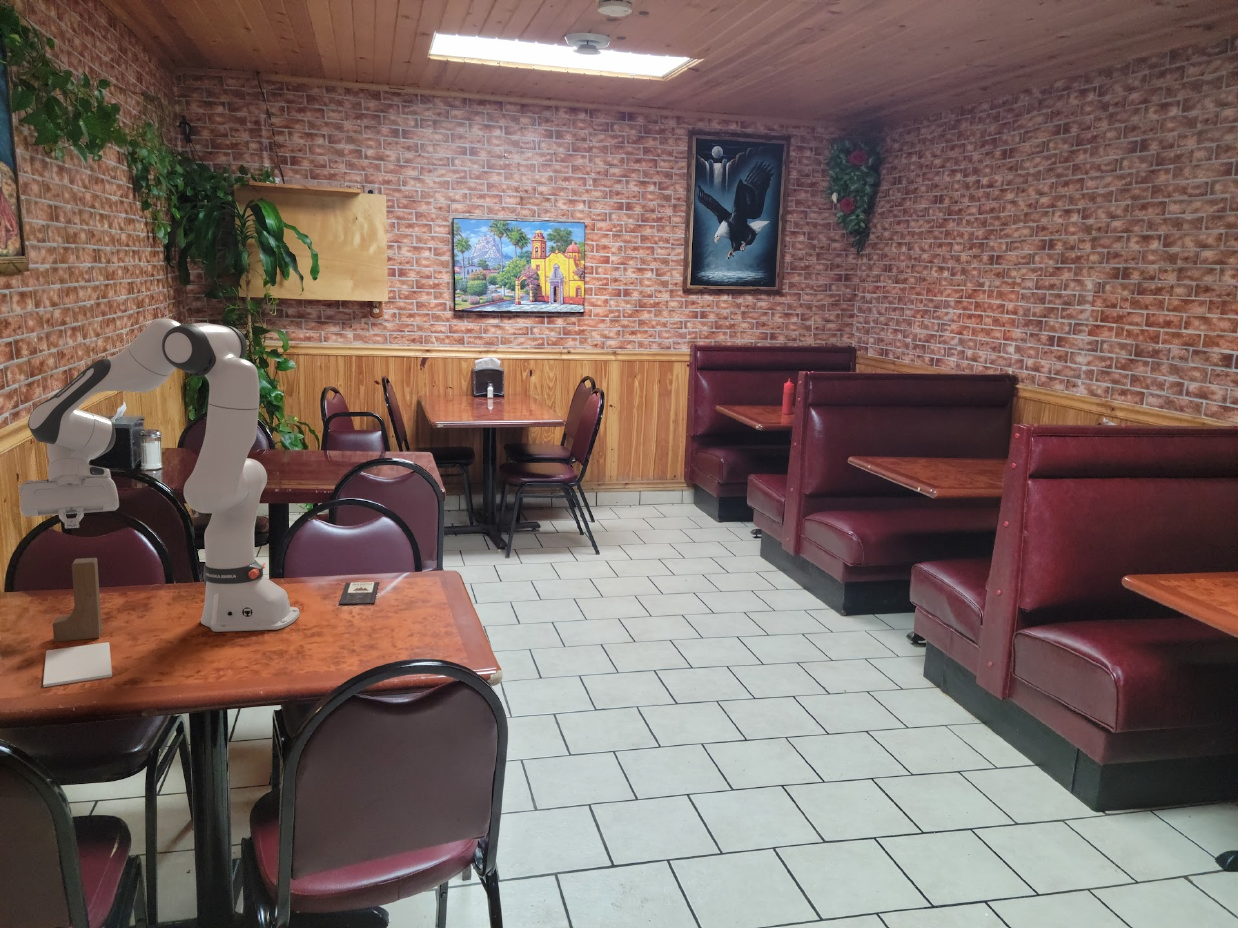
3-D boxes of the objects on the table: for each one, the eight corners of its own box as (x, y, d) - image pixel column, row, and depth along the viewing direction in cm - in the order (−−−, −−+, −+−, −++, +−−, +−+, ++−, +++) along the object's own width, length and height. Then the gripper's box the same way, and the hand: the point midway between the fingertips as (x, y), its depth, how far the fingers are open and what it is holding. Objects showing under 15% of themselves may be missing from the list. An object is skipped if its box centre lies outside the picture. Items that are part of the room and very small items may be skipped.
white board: (46, 653, 199) (46, 650, 199) (109, 644, 205) (109, 641, 205) (43, 687, 182) (43, 684, 182) (112, 676, 188) (111, 673, 188)
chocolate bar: (338, 603, 236) (345, 582, 253) (338, 607, 236) (345, 585, 254) (374, 602, 238) (379, 582, 255) (374, 606, 238) (379, 585, 255)
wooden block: (53, 642, 205) (47, 565, 202) (57, 635, 209) (51, 559, 206) (99, 638, 208) (94, 562, 205) (102, 631, 213) (97, 557, 209)
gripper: (17, 473, 215) (18, 523, 208) (116, 468, 225) (120, 515, 218) (19, 488, 219) (20, 538, 212) (116, 483, 229) (120, 529, 223)
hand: (71, 526), depth 215 cm, fingers closed
